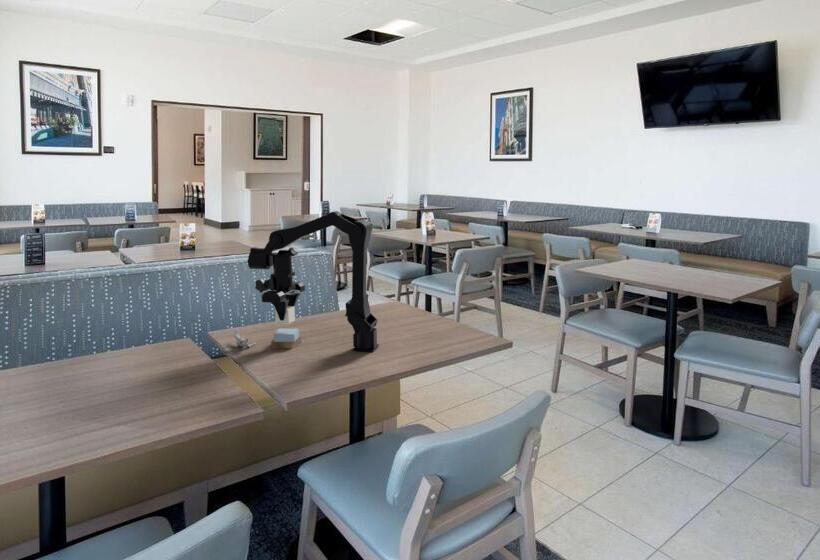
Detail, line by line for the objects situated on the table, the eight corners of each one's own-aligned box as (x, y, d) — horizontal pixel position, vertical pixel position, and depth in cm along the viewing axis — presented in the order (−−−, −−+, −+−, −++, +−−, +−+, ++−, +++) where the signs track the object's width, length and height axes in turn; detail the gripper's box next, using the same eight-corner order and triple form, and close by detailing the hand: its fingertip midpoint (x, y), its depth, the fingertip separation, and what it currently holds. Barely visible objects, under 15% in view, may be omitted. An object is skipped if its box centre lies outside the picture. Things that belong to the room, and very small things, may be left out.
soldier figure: (251, 342, 191) (262, 340, 181) (242, 354, 189) (252, 353, 179) (232, 328, 189) (242, 325, 179) (223, 340, 187) (232, 337, 177)
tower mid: (299, 336, 188) (298, 328, 188) (294, 342, 182) (294, 334, 181) (279, 335, 188) (278, 328, 188) (274, 341, 182) (273, 334, 181)
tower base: (301, 344, 188) (301, 336, 187) (291, 350, 181) (291, 343, 181) (281, 342, 190) (281, 335, 189) (271, 348, 183) (270, 341, 182)
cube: (295, 320, 185) (294, 306, 184) (288, 323, 181) (288, 309, 180) (282, 319, 186) (281, 305, 186) (275, 322, 182) (274, 309, 181)
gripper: (273, 264, 191) (276, 310, 194) (243, 274, 174) (247, 324, 177) (304, 265, 189) (306, 311, 192) (277, 275, 171) (280, 326, 174)
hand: (285, 318), depth 183 cm, fingers closed on cube, 4 cm apart
